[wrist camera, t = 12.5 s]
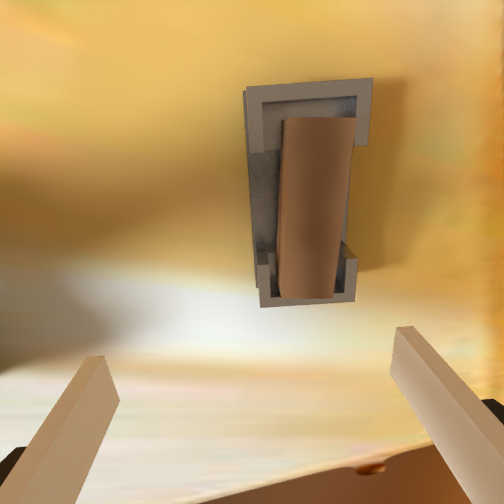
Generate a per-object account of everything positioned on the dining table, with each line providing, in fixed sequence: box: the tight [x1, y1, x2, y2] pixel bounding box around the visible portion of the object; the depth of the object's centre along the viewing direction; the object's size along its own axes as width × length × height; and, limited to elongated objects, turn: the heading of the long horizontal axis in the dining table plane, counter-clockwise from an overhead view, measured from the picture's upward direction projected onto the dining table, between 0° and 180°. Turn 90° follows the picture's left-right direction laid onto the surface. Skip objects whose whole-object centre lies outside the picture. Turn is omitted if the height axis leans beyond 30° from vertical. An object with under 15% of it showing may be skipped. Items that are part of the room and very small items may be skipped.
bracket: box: [243, 78, 373, 308], centre depth 31 cm, size 11×22×6 cm, turn 4°
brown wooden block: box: [276, 117, 357, 299], centre depth 28 cm, size 5×16×6 cm, turn 0°
